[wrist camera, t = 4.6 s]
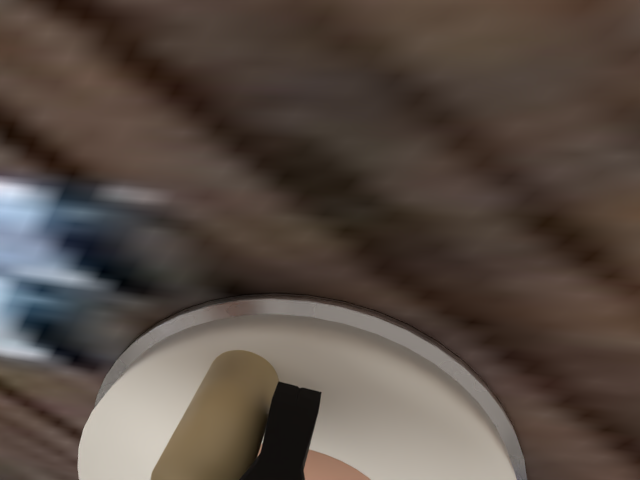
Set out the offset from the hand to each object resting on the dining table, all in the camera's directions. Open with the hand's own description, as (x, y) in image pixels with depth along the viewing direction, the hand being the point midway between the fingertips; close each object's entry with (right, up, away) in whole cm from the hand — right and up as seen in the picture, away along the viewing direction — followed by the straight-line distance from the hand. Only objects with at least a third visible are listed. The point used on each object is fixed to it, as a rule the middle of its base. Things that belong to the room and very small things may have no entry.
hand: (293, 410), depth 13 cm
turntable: (0, -5, +6) cm, 8 cm away
